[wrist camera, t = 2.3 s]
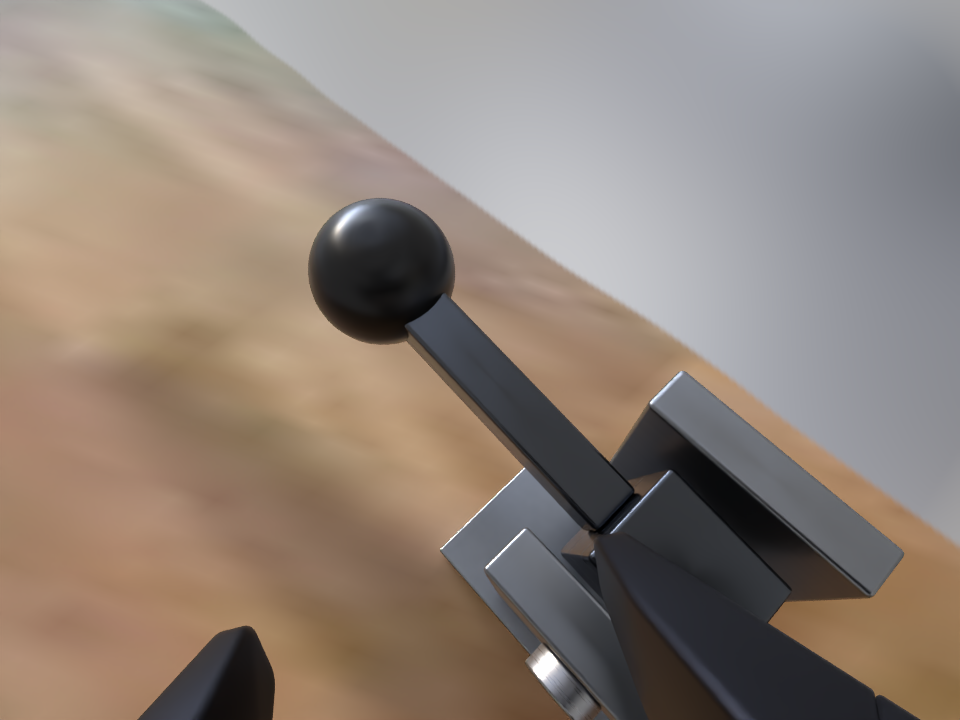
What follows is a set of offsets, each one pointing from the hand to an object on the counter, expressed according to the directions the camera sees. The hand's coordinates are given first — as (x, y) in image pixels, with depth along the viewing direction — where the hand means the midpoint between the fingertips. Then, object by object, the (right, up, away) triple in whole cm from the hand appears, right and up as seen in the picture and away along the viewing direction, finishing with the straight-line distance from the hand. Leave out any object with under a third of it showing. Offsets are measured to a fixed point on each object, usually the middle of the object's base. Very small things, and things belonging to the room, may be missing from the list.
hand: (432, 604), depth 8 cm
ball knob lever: (+1, +2, +5) cm, 6 cm away
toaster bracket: (+5, -5, +12) cm, 14 cm away
